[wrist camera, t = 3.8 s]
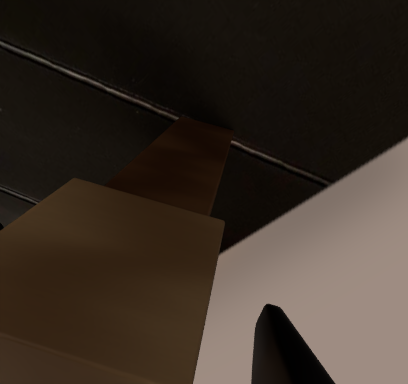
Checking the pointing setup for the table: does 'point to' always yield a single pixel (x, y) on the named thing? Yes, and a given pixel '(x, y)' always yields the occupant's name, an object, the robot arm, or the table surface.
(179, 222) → the block
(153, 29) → the table surface
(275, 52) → the table surface
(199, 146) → the post
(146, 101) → the table surface
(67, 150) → the table surface
